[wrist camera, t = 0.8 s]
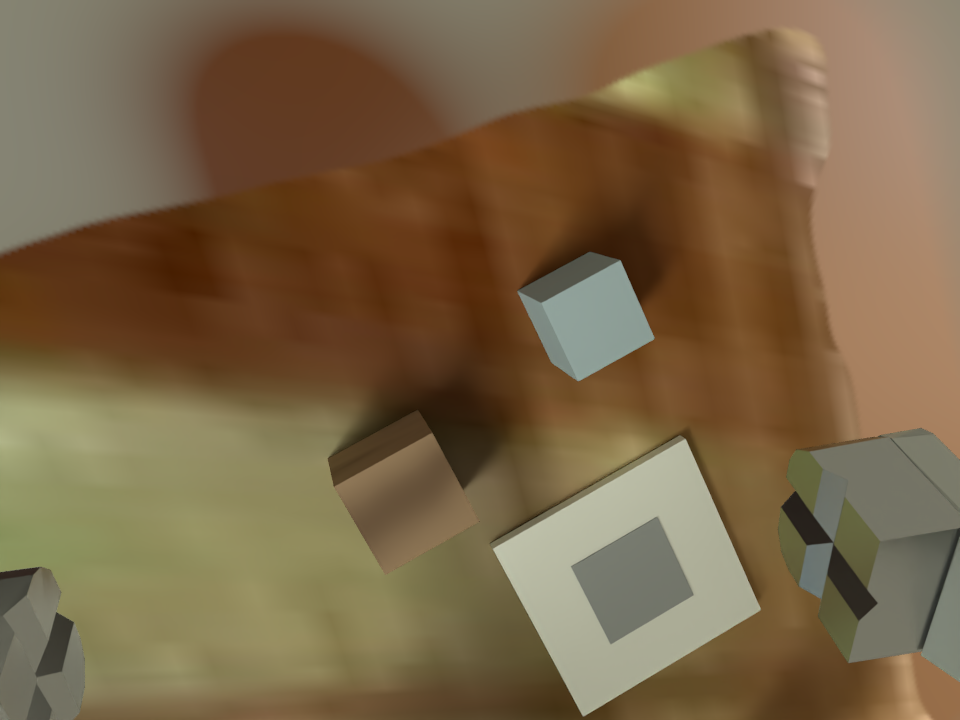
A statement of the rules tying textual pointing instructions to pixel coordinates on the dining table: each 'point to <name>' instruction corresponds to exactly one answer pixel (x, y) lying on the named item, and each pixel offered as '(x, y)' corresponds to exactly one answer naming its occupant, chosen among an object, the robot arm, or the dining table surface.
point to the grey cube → (586, 314)
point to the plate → (628, 575)
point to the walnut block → (401, 491)
